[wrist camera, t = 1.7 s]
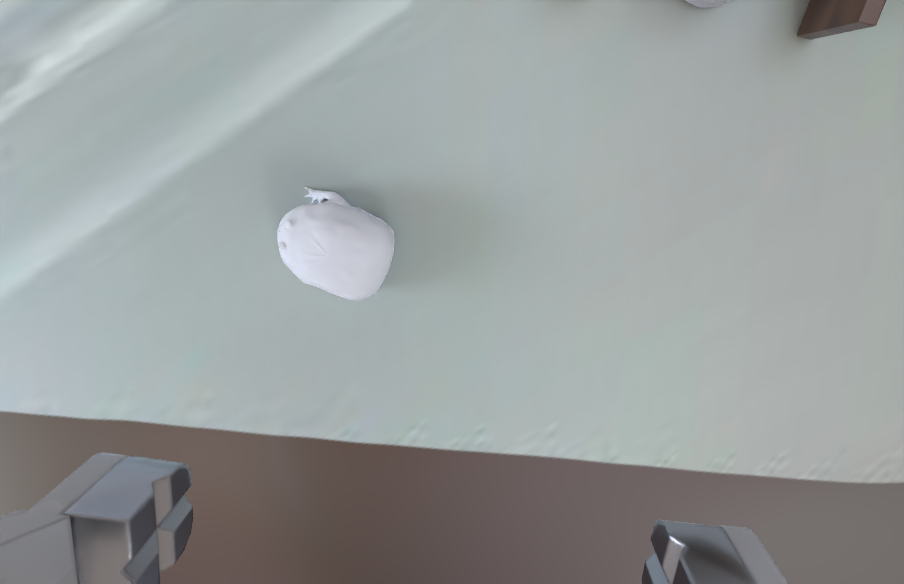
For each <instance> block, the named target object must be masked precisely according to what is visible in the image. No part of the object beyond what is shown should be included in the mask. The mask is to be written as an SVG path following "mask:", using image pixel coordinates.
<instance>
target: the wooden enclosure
mask: <svg viewBox="0 0 904 584" xmlns="http://www.w3.org/2000/svg"><path fill="white" fill-rule="evenodd" d="M885 2H886V0H810V2H809V5H808V8H807V10H806V13H805V16H804V18H803V21H802V24H801V27H800V29H799V32H798V35H797V36H799V37H803V38H808V39H815V38H820V37H825V36H830V35H834V34H839V33H844V32H849V31H853V30H858V29H863V28H868V27H872V26H876V24H877V22H878V19H879V17H880V14H881V12H882V9H883V7H884V4H885Z"/></svg>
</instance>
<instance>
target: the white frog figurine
mask: <svg viewBox="0 0 904 584" xmlns="http://www.w3.org/2000/svg"><path fill="white" fill-rule="evenodd" d="M305 188H306V189H307V190H308V191H309V192H310V193H309V194H308V195H306V196H304V197H312V198H313V199H312V201H311V203H310V204H304V205H301V206H299V207H297V208H295V209H293V210H291V211H289V212H288V213H287V214H286V215H285V216H284V217H283V218H282V220H281V222H280V224H279V227H278V231H277V240H278V247H279V251H280V255H281V258H282V260H283V262H284V263H285V265H287V266H288V267H289V268H290V269H291V271H292V272H293V273H294V274H295V275H296V276H297V277H298V278H299V279H300V280H301V281H302V282H304V283H306V284H308V285H312V286H316V287H319V288H321V289H323V290H325V291H327V292H329V293H331V294H334V295H337V296H339V297H342V298H345V299H350V300H361V299H365V298H368V297H370V296H372V295H374V294H375V293H376V292H377V291H378V290H379V288H380V286H381V285H382V283H383V281H384V279H385V277H386V275H387V273H388V271H389V268H390V265H391V262H392V258H393V254H394V248H395V245H394V239H395V235H394V231H393V230H392V229H391V228H390V227H389V225H388V224H387V223H386V222H385V221H383V220H382V219H380V218H378V217H376V216H374V215H372V214H370V213H368V212H366V211H364V210H363V209H361V208H360V207H357V208H355V207H352V206H351V205H349V204H348V203H347V202H346V201H345V200H344V199H343V198H342V197H341V196H340V195H339V194H337V193H336V192H331V191H320V190H312V189H310V188H308V187H305ZM323 199H328V201H325V202H322V200H323ZM316 200H318V204H313V203H314V202H315V201H316Z"/></svg>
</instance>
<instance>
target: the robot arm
mask: <svg viewBox="0 0 904 584" xmlns="http://www.w3.org/2000/svg"><path fill="white" fill-rule="evenodd" d="M190 486H191V474H190V468H189V467H188V466H187V465H186V464H185V463H178V462H171V461H164V460H157V459H150V458H143V457H136V456H127V455H119V454H111V453H99V454H95V455H93V456H92V457H91V458H90V459H89V460H87V461H86V462H85V463H84V464H83V465H81V466H80V467H79V468H78V469H77V470H76V471H74V472H73V473H72V474H71V475H70V476H68V477H67V478H66V479H65V480H64V481H62V482H61V483H60V484H59V485H58V486H57V487H55V488H54V489H53V490H52V491H51V492H49V493H48V494H47V495H46V496H45V497H43V498H42V499H41V500H40V501H39V502H37V503H36V504H35V505H34V506H33V507H32V508H30V509H29V510H28V511H26V510H16V511H14V512H11V513H8V514H5V515H3V516H0V584H160V572H161V571H163V570H165V569H166V568H168V567H170V566H172V565H174V564H175V563H176V561H177V560H178V558H179V557H180V555H181V554H182V552H183V551H184V549H185V546H186V544H187V541H188V539H189V536H190V534H191V528H192V521H193V507H192V506H191V504H190V503H189V501H188V500H187V499H186V498H185V496H184V493H185V492H186V491H187V490H188V488H189V487H190ZM651 541H652V544H653V547H654V549H655V553H654V554H653V555H652V556H651V557H649V558H648V559H647V560H646V561H645V566H644V571H643V576H642V584H788V583H787V581H786V580H785V578H784V577H783V575H782V574H781V572H780V570H779V569H778V568H777V566H776V564H775V563H774V561H773V560H772V559H771V557H770V555H769V554H768V552H767V551H766V549H765V548H764V546H763V545H762V543H761V542H760V540H759V539H758V537H757V536H756V534H755V533H754V532H753V531H751V530H750V529H748V528H742V527H731V526H719V525H718V526H710V525H701V524H692V523H683V522H674V521H665V520H658V521H657V522H656V524H655V526H654V528H653V532H652V536H651Z"/></svg>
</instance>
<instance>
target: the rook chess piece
mask: <svg viewBox="0 0 904 584" xmlns="http://www.w3.org/2000/svg"><path fill="white" fill-rule="evenodd" d="M686 1H687V2H689V3H691V4H693V5H695V6H697V7H716V6H718V5H720V4H723V3H725V2H728V1H729V0H686Z"/></svg>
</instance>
